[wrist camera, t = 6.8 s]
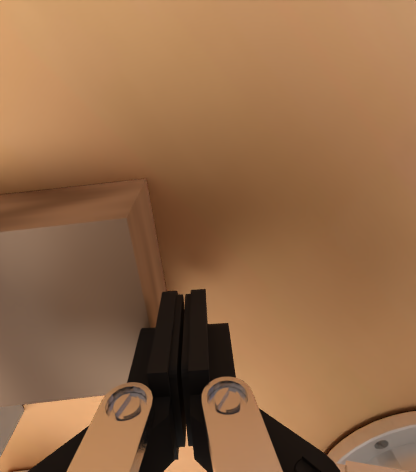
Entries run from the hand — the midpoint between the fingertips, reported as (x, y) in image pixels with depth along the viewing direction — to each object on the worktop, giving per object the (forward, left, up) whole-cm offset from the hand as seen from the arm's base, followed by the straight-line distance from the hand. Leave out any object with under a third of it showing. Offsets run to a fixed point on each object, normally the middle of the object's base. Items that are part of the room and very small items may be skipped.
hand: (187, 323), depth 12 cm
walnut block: (+6, -1, -4) cm, 7 cm away
